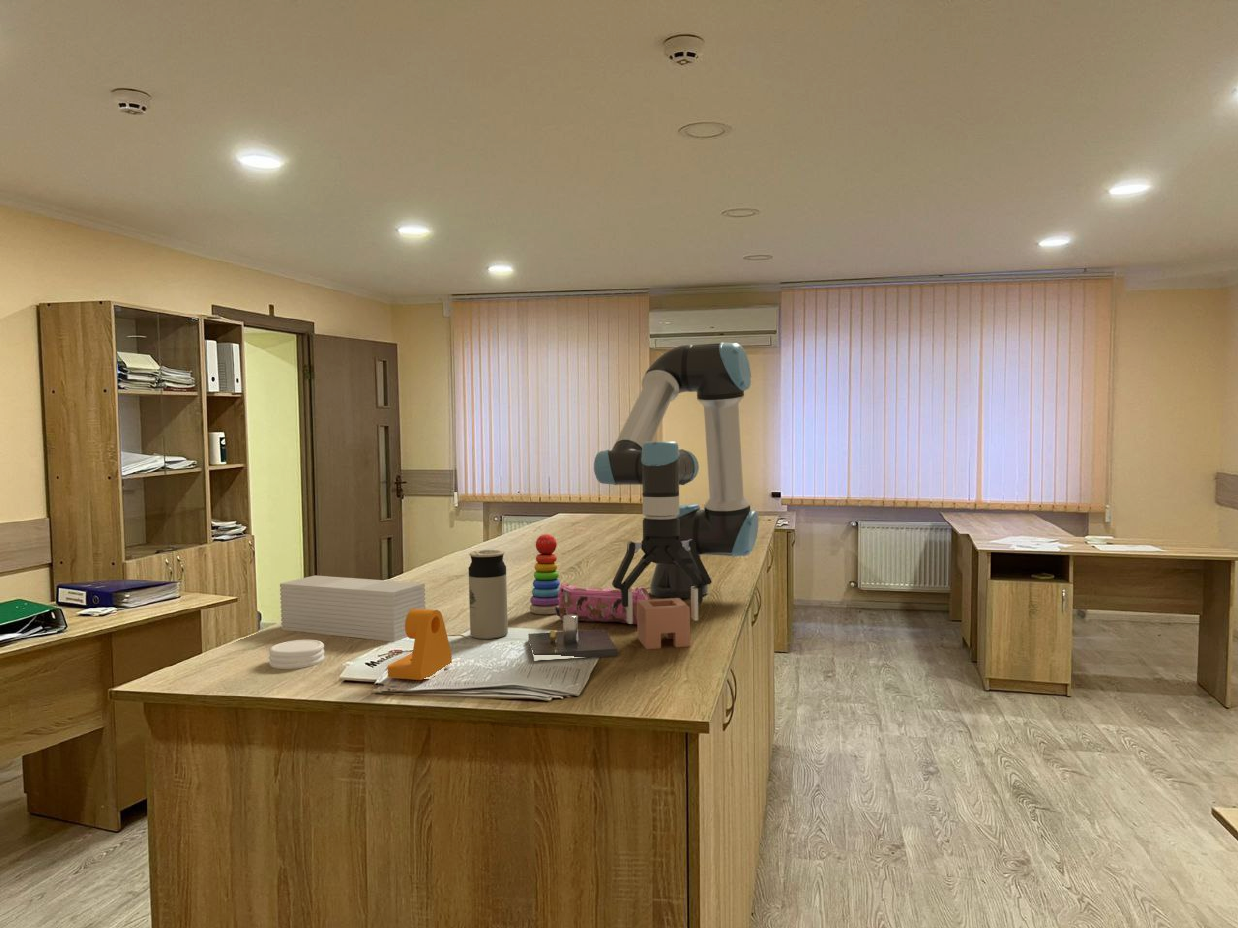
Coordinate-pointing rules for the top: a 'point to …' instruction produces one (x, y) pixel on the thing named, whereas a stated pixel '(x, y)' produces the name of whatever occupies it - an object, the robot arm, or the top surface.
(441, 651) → the bracket
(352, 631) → the stack of papers
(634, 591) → the pencil case
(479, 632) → the travel mug
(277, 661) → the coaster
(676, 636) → the hollow square tube
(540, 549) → the stacking toy
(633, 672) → the top surface
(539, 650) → the post plate
